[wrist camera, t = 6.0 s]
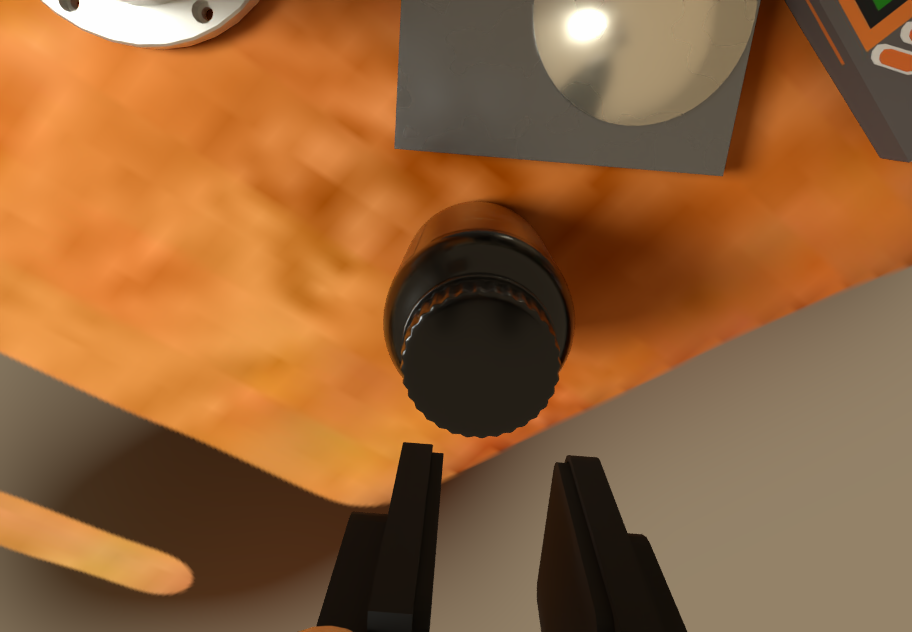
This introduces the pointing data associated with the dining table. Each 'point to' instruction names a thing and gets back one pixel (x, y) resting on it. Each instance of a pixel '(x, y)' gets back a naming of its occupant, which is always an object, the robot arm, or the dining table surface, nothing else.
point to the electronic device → (867, 63)
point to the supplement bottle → (478, 320)
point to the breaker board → (575, 80)
